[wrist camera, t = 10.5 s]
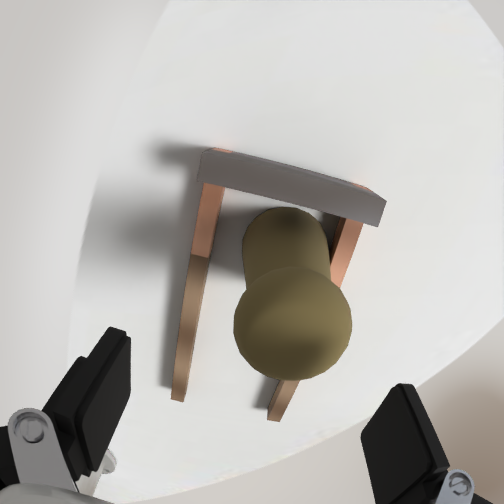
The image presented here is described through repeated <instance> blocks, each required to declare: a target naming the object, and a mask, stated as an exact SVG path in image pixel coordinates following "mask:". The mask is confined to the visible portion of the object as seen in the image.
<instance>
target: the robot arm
mask: <svg viewBox="0 0 504 504" xmlns="http://www.w3.org/2000/svg"><path fill="white" fill-rule="evenodd" d="M130 392H131V338H130V337H128V336H126V332H125V331H123V330H120V329H117V328H113V327H109V328H108V329H107V330H106V332H105V333H104V334H103V336H102V337H101V339H100V340H99V342H98V343H97V344H96V346H95V347H94V349H93V350H92V352H91V353H90V354H89V356H88V357H87V358H85V357H83V356H80V357H78V358H77V360H76V361H75V362H74V364H73V365H72V366H71V368H70V369H69V371H68V372H67V374H66V375H65V376H64V378H63V379H62V381H61V382H60V384H59V385H58V387H57V388H56V390H55V391H54V392H53V394H52V395H51V397H50V399H49V400H48V402H47V403H46V405H45V406H44V407H43V409H42V411H40V410H38V409H34V408H24V409H21V410H18V411H17V412H15V413H14V414H13V415H12V416H11V418H10V419H9V422H8V426H4V427H0V504H114V503H111V502H107V501H104V500H101V499H98V498H95V497H92V496H93V494H94V491H95V489H96V486H97V484H98V481H99V479H100V476H101V474H108V473H112V472H113V471H114V470H115V467H116V460H115V458H114V456H113V455H112V454H111V452H110V451H109V450H108V449H107V448H108V446H109V443H110V441H111V439H112V436H113V434H114V432H115V429H116V427H117V425H118V422H119V420H120V418H121V416H122V413H123V411H124V409H125V407H126V404H127V402H128V400H129V397H130ZM361 443H362V447H363V450H364V455H365V458H366V463H367V467H368V471H369V476H370V480H371V484H372V489H373V493H374V498H375V503H376V504H493V503H491V502H489V501H487V500H485V499H484V498H482V497H480V496H478V495H477V494H475V493H474V487H475V486H474V481H473V479H472V478H471V476H470V475H469V474H468V473H466V472H465V471H463V470H460V469H454V470H451V471H450V472H448V471H447V469H448V468H449V467H450V465H449V462H448V460H447V457H446V455H445V453H444V451H443V448H442V446H441V443H440V441H439V439H438V437H437V434H436V432H435V430H434V428H433V425H432V423H431V421H430V419H429V417H428V415H427V412H426V410H425V408H424V406H423V404H422V402H421V400H420V398H419V395H418V393H417V392H416V389H415V387H414V386H413V385H412V384H401V383H399V384H397V385H396V386H395V387H393V388H392V389H391V390H390V391H389V393H388V395H387V396H386V398H385V399H384V401H383V402H382V404H381V405H380V407H379V408H378V409H377V411H376V412H375V414H374V415H373V417H372V418H371V419H370V421H369V422H368V424H367V425H366V426H365V428H364V429H363V431H362V433H361Z"/></svg>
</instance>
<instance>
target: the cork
mask: <svg viewBox="0 0 504 504" xmlns="http://www.w3.org/2000/svg"><path fill="white" fill-rule="evenodd" d="M242 256H243V265H244V273H245V281H246V289H247V290H246V291H245V292H244V293H243V294H242V296H241V299H240V301H239V303H238V305H237V308H236V310H235V315H234V330H233V333H234V337H235V341H236V343H237V346H238V349H239V352H240V354H241V355H242V356H243V357H244V358H245V360H246V361H247V362H248V363H249V364H250V365H251V366H252V367H253V368H254V369H255V370H257V371H259V372H260V373H262V374H263V375H265V376H267V377H271V378H274V379H278V380H285V381H298V380H304V379H309V378H312V377H314V376H317V375H319V374H321V373H323V372H325V371H326V370H328V369H329V368H330V367H332V366H333V365H334V364H335V363H336V362H337V361H338V359H339V358H340V356H341V355H342V354H343V352H344V351H345V349H346V348H347V346H348V343H349V340H350V336H351V332H352V319H351V310H350V307H349V305H348V302H347V300H346V298H345V297H344V295H343V293H342V291H341V290H340V288H339V287H338V286H337V285H335V284H334V283H333V282H332V281H331V272H330V261H329V250H328V243H327V237H326V233H325V231H324V229H323V228H322V226H321V224H320V222H319V221H317V220H316V219H315V218H314V217H313V216H312V215H311V214H309V213H307V212H305V211H303V210H300V209H298V208H292V207H279V208H274V209H270V210H267V211H266V212H264V213H262V214H261V215H259V216H257V217H256V218H255V219H254V220H253V222H252V223H251V224H250V225H249V226H248V227H247V230H246V232H245V235H244V237H243V242H242Z"/></svg>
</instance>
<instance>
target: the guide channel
mask: <svg viewBox="0 0 504 504" xmlns="http://www.w3.org/2000/svg"><path fill="white" fill-rule="evenodd" d="M197 181H199V182H204V185H203V190H202V195H201V200H200V205H199V210H198V216H197V221H196V227H195V232H194V238H193V243H192V249H191V255H190V261H189V267H188V273H187V279H186V286H185V292H184V299H183V305H182V312H181V319H180V326H179V334H178V341H177V349H176V357H175V365H174V374H173V383H172V392H171V399H172V400H176V401H180V402H183V401H184V398H185V395H186V391H187V385H188V379H189V372H190V366H191V360H192V354H193V348H194V343H195V337H196V331H197V326H198V320H199V314H200V309H201V303H202V298H203V293H204V287H205V282H206V277H207V272H208V267H209V262H210V257H211V252H212V247H213V242H214V237H215V232H216V227H217V222H218V217H219V213H220V208H221V203H222V199H223V194H224V190H225V187H226V188H231V189H235V190H239V191H243V192H248V193H252V194H256V195H260V196H264V197H268V198H272V199H276V200H280V201H284V202H288V203H292V204H296V205H300V206H303V207H307V208H311V209H315V210H318V211H322V212H326V213H329V214H333V215H337V216H340V219H339V222H338V226H337V229H336V232H335V235H334V238H333V241H332V244H331V247H330V250H329V261H330V272H331V281H332V282H333V283H334V284H335V285H337V286H338V287H339V288H340V286H341V284H342V281H343V278H344V276H345V273H346V271H347V268H348V265H349V263H350V260H351V257H352V254H353V252H354V249H355V246H356V243H357V240H358V238H359V235H360V232H361V229H362V226H363V223H365V224H368V225H371V226H375V227H378V225H379V223H380V220H381V217H382V214H383V211H384V208H385V205H386V202H387V201H386V200H384V199H383V198H381V197H380V196H379V195H377V194H376V193H374V192H373V191H371V190H370V189H368V188H366V187H363V186H360V185H357V184H354V183H350V182H347V181H344V180H341V179H337V178H334V177H330V176H327V175H323V174H320V173H316V172H313V171H309V170H306V169H302V168H298V167H295V166H291V165H287V164H283V163H279V162H275V161H271V160H267V159H263V158H259V157H255V156H250V155H246V154H242V153H237V152H233V151H228V150H224V149H219V148H213V149H210V150H207V151H205V152H202V157H201V162H200V167H199V172H198V177H197ZM299 381H300V380H298V381H285V380H280V381H279V384H278V386H277V388H276V391H275V393H274V395H273V397H272V400H271V402H270V404H269V407H268V413H267V420H270V421H277V422H280V420H281V418H282V416H283V414H284V412H285V410H286V408H287V406H288V404H289V402H290V400H291V398H292V396H293V394H294V392H295V390H296V388H297V386H298V384H299Z"/></svg>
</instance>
